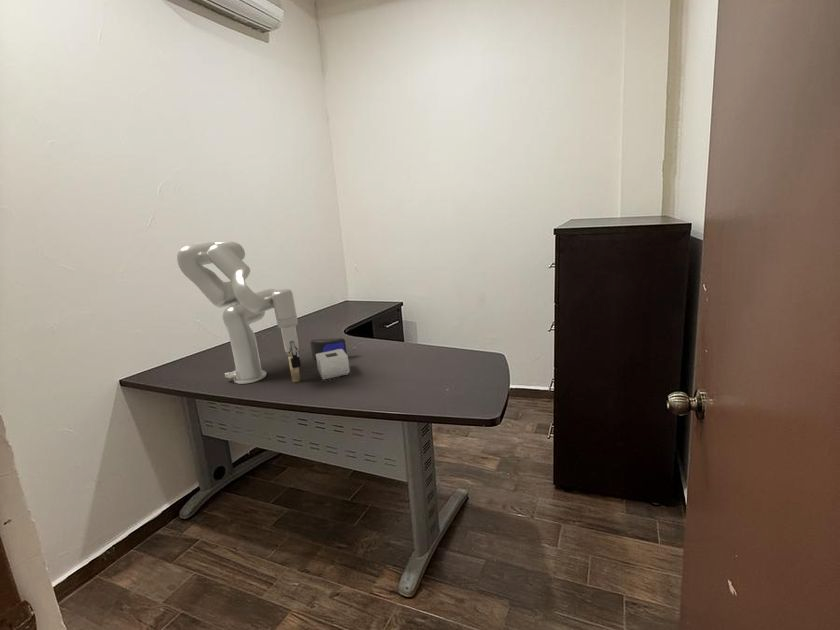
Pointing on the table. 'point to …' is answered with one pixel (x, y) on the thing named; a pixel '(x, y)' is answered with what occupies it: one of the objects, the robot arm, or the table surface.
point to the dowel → (294, 371)
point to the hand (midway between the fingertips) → (295, 363)
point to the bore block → (332, 363)
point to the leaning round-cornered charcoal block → (327, 345)
